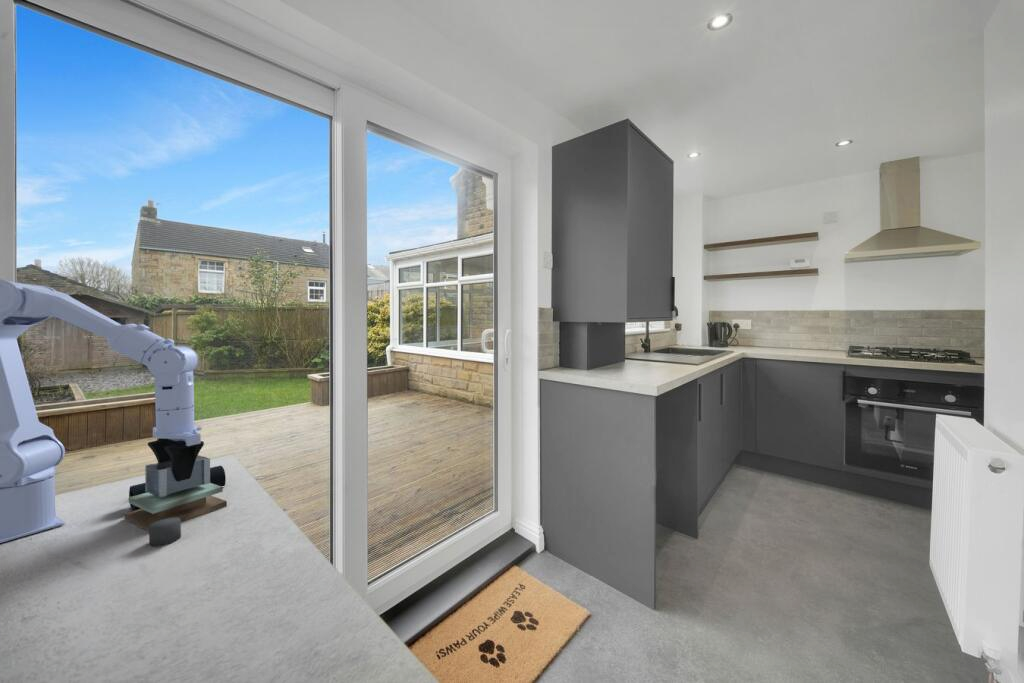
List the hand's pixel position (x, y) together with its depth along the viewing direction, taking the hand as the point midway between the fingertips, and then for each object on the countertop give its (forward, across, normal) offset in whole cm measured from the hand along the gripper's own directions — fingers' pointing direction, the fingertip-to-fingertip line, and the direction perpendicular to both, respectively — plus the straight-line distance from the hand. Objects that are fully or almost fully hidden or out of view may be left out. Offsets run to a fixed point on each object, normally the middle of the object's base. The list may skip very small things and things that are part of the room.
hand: (176, 477), depth 77 cm
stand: (+7, 0, 0) cm, 7 cm away
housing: (+2, 0, 0) cm, 2 cm away
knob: (+7, -11, +6) cm, 14 cm away
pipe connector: (+7, +12, -4) cm, 15 cm away
